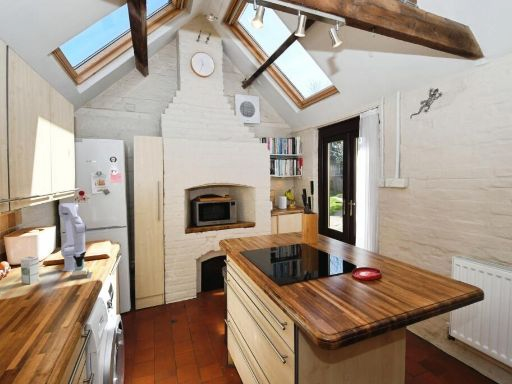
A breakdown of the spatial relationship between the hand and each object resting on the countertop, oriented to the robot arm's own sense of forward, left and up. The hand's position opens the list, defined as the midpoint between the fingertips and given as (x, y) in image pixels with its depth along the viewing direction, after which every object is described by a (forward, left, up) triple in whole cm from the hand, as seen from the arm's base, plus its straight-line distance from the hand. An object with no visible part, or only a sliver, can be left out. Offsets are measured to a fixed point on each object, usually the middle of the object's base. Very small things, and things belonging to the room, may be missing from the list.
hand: (80, 265), depth 158 cm
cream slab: (0, 0, -5) cm, 5 cm away
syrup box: (+14, -20, -8) cm, 26 cm away
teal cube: (0, 0, -2) cm, 2 cm away
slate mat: (0, 0, -7) cm, 7 cm away
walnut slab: (0, 0, -7) cm, 7 cm away
